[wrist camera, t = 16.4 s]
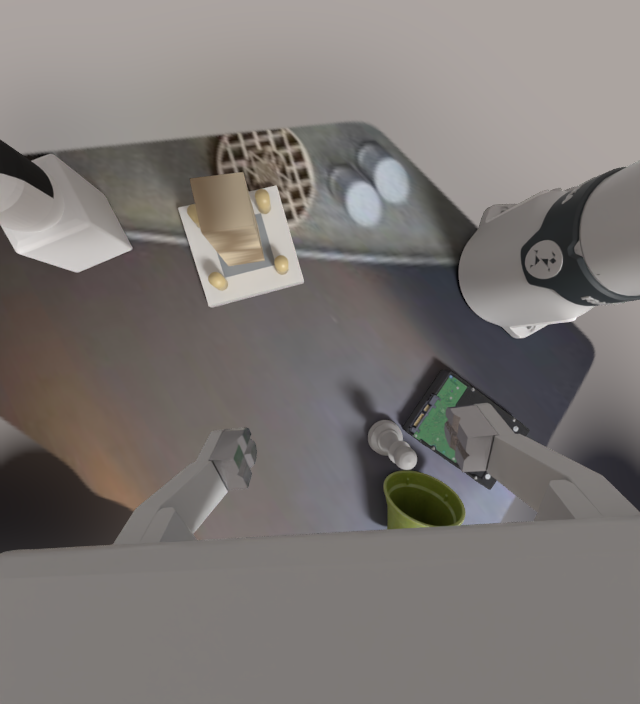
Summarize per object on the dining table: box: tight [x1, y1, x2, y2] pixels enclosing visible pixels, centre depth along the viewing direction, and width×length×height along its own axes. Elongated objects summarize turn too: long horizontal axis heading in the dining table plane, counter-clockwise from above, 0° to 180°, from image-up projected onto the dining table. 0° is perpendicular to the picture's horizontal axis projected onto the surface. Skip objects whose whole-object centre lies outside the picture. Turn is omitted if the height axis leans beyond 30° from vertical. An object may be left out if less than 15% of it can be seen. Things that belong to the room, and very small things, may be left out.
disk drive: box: [403, 370, 529, 489], centre depth 37 cm, size 10×3×15 cm
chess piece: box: [368, 420, 417, 470], centre depth 32 cm, size 5×5×8 cm
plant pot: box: [383, 470, 465, 529], centre depth 33 cm, size 9×9×9 cm
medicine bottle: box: [0, 140, 132, 272], centre depth 25 cm, size 7×7×12 cm
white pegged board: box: [178, 185, 304, 307], centre depth 31 cm, size 12×12×4 cm
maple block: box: [190, 172, 265, 266], centre depth 27 cm, size 4×4×10 cm
